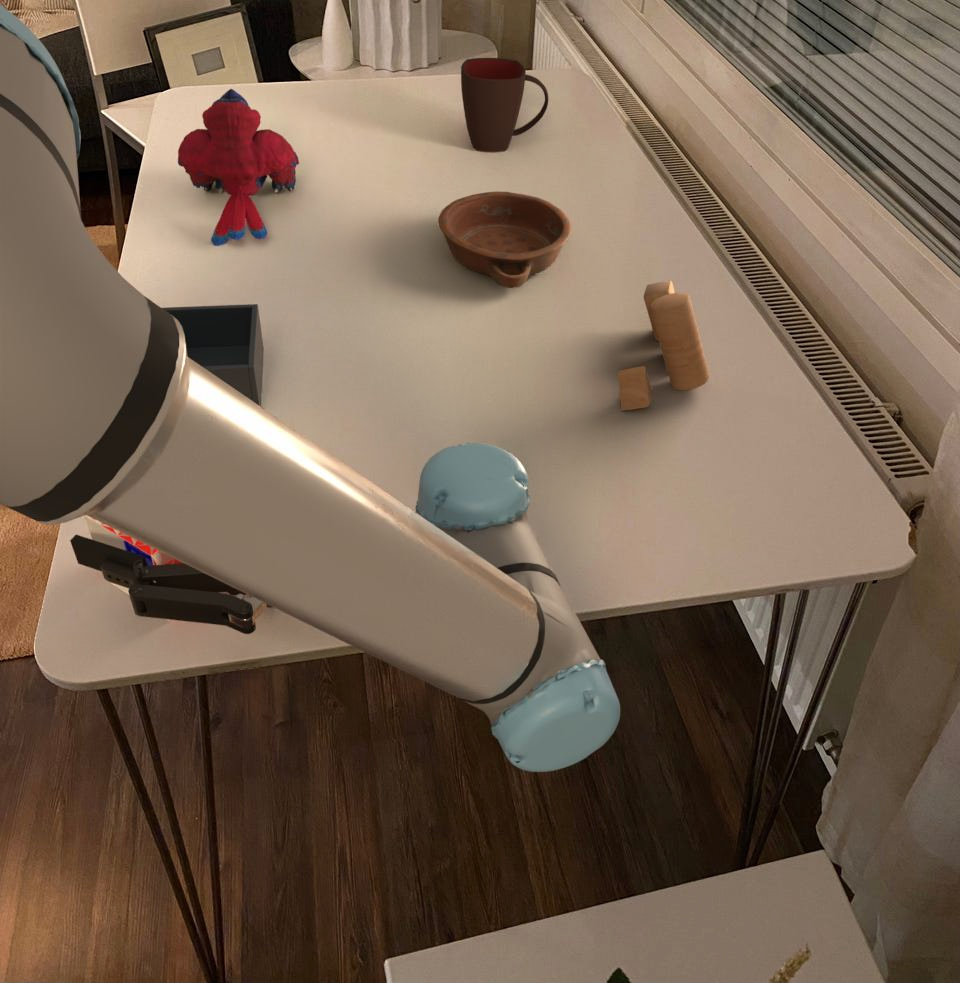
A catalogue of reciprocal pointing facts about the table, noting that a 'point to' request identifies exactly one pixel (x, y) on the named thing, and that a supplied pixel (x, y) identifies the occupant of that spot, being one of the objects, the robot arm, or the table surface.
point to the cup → (495, 101)
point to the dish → (504, 234)
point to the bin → (226, 343)
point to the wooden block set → (667, 347)
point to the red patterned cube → (126, 545)
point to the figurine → (237, 163)
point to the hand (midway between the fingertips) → (114, 509)
